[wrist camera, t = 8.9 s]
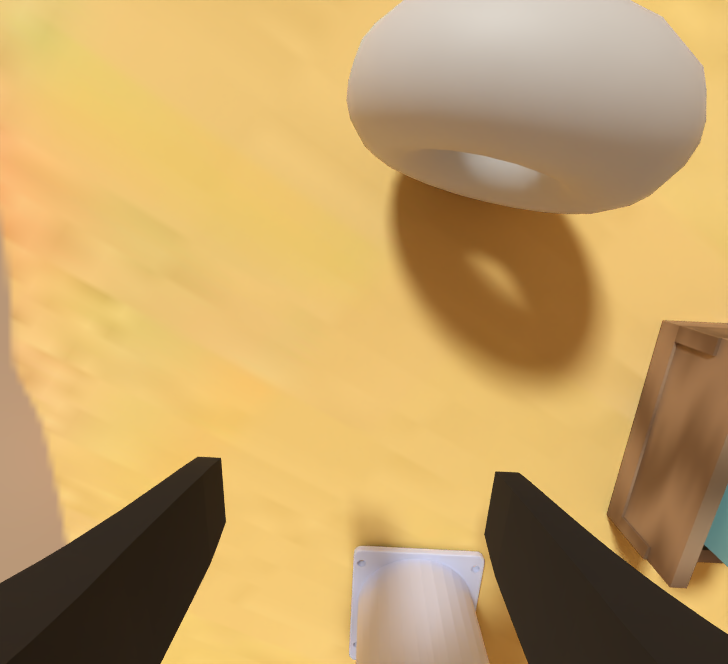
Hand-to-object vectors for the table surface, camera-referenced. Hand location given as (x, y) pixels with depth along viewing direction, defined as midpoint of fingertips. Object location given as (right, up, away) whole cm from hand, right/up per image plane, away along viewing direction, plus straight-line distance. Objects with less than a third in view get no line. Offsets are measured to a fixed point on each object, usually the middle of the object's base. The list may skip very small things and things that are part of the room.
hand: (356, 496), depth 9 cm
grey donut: (+5, +12, +7) cm, 15 cm away
